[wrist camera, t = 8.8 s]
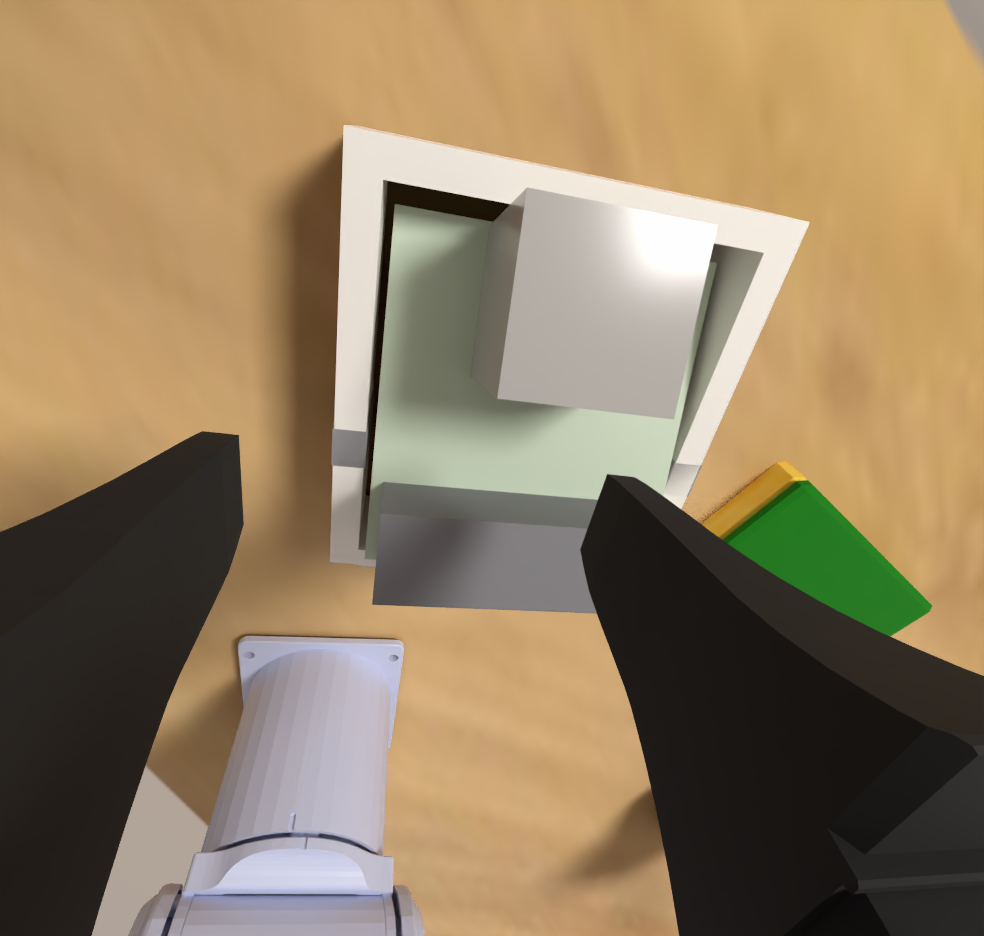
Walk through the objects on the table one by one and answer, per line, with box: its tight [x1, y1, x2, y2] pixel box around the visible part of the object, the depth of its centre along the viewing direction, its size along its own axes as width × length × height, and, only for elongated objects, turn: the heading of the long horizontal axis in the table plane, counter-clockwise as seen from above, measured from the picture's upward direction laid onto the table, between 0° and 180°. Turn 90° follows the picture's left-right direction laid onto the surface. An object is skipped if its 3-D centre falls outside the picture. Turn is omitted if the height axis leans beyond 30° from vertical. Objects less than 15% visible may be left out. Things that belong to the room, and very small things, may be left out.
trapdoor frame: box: [330, 125, 810, 567], centre depth 19 cm, size 14×13×4 cm
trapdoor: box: [365, 204, 717, 613], centre depth 17 cm, size 11×10×4 cm
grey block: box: [470, 187, 718, 420], centre depth 15 cm, size 4×4×5 cm
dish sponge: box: [701, 461, 932, 636], centre depth 28 cm, size 7×14×2 cm, turn 49°
